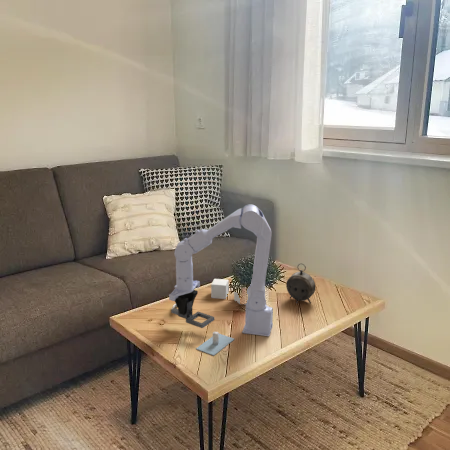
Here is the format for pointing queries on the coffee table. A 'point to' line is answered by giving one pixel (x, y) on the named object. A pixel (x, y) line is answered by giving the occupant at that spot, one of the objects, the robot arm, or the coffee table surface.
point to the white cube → (219, 288)
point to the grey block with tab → (190, 317)
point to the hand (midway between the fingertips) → (185, 312)
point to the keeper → (215, 343)
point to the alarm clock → (301, 286)
